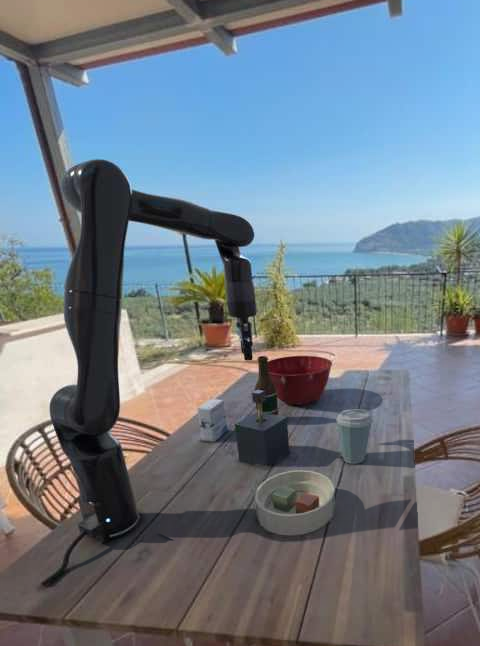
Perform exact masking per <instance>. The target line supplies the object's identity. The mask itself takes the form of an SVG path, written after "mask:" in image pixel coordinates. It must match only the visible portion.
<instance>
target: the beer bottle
mask: <svg viewBox="0 0 480 646" xmlns="http://www.w3.org/2000/svg"><path fill="white" fill-rule="evenodd" d="M256 361H257V362H258V363H257V364H258V366H257V367H258V379H257V382H256V384H255V386H254V391H256V390H262V391H265V398H266V401H264V402H262V412H264V413H269V414H274V415H278V416H279V405H278V398H277V391H276V386H275V384H274V382H273V381H272V379H271V378H270V374H269V368H268V361H269V357H268V356H266V355H261V356H258V357H257V359H256ZM255 409H256V412H258V405H257V403H255Z"/></svg>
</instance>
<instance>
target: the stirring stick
mask: <svg viewBox="0 0 480 646" xmlns="http://www.w3.org/2000/svg"><path fill="white" fill-rule="evenodd" d="M251 398H252V403H255V404H256V403H257V405H258V415H259V423H263V412H262V402H264V401H266V398H265V391H262V390H256V391H255V390H254V391H251Z"/></svg>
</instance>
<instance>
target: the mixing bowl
mask: <svg viewBox="0 0 480 646" xmlns="http://www.w3.org/2000/svg"><path fill="white" fill-rule="evenodd" d="M332 366H333V361H332V360H330V359H328V358H326V357H322V356H316V355H291V356H283V357H278V358H273V359H271V360H268V368H269V374H270V378H271V379H272V381H273V382H274V384H275V386H276V391H277V400H279V401H281V402H283V403H285V404H287V405H290V406H304V405H309V404H311V403H314V402H315V401H317V400H318V399H319V398H320V397H321V396H322V394H324V391H325V390H326V389H325V388H326V386H327V384H328V381H329V379H330V378H329V377H330V373H331V369H332Z"/></svg>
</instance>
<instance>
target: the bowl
mask: <svg viewBox="0 0 480 646" xmlns="http://www.w3.org/2000/svg"><path fill="white" fill-rule="evenodd" d="M281 486H286V487H289V488H292V489H296V495H297V499H298V498H299V497H300V496H301V495H302V494H303V493H304V492H305V493H309V494H312V495H315V496H319V507H318V508H316V509H314V510H311V511H308V512H304V513H299V514H296V507H295V506H294V507H293V508H292V509H291V510H290V511H289V512H288V513H287V512H284V511H281V510H278V509H275V508H274V505H273V493H274V492H276V491H277V490H278V489H279V488H280V487H281ZM335 491H336V490H335V485H334V483H333V481H332V480H331V479H330V478H329V477H327V476H326V475H324V474H322V473H320V472H317V471H313V470H303V469H297V470H288V471H285V472H279V473H277V474H275V475H273V476H270V477H268V478H267V479H266V480H264V481H263V482H262V483H260V484H259V486H258V488H257V489H256V491H255V493H254V503H255V512H256V518H257V521H258V523H259V525H260V526H261V527H262V528H263V529H265V530H266V531H267V532H270V533H273V534H275V535H279V536H287V537H288V536H289V537H291V536H293V537H294V536H300V535H301V536H302V535H307V534H309V533H312V532H316V531H318V530H319V529H321V528H322V527H324V526H326V525H327V524H328V523H329V522H330V520H331V519H332V518H333V517H334V514H335V512H336V492H335Z"/></svg>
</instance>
